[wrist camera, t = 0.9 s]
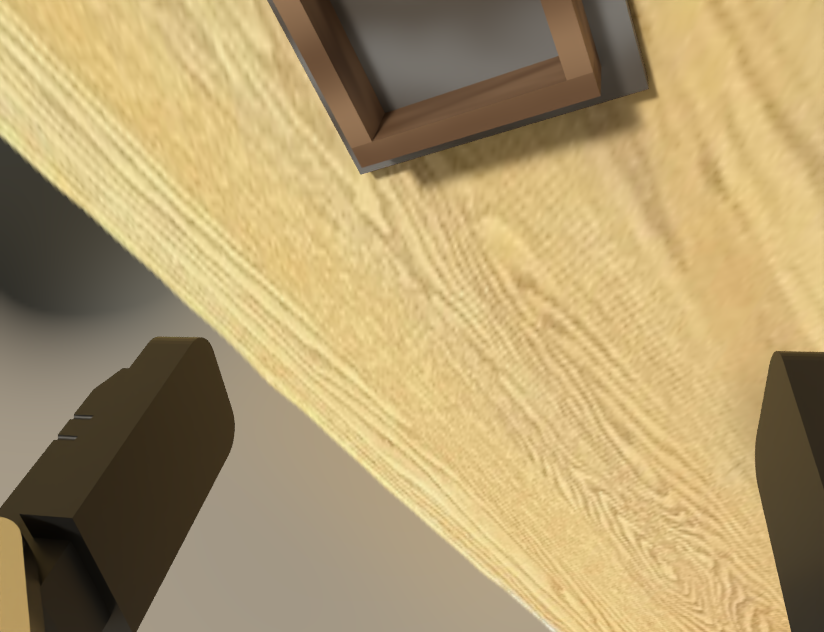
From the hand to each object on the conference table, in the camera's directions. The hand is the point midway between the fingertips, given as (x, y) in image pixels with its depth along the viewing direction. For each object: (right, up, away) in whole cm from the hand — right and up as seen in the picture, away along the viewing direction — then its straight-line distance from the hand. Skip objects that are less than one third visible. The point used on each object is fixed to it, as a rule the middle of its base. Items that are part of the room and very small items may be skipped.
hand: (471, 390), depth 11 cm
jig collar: (0, +17, +26) cm, 31 cm away
